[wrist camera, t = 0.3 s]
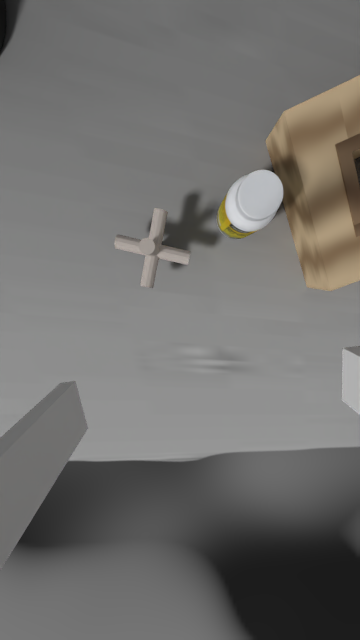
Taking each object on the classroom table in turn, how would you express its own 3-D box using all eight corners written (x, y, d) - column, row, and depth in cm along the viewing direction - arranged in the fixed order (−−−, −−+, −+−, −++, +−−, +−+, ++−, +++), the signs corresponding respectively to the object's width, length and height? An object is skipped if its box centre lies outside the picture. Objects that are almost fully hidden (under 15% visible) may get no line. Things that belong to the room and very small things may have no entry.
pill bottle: (216, 241, 34) (230, 228, 24) (215, 197, 33) (229, 163, 22) (257, 238, 34) (290, 224, 23) (257, 194, 33) (292, 157, 22)
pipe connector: (196, 226, 34) (200, 209, 24) (181, 290, 36) (180, 298, 26) (132, 211, 34) (110, 188, 24) (121, 276, 36) (97, 280, 26)
